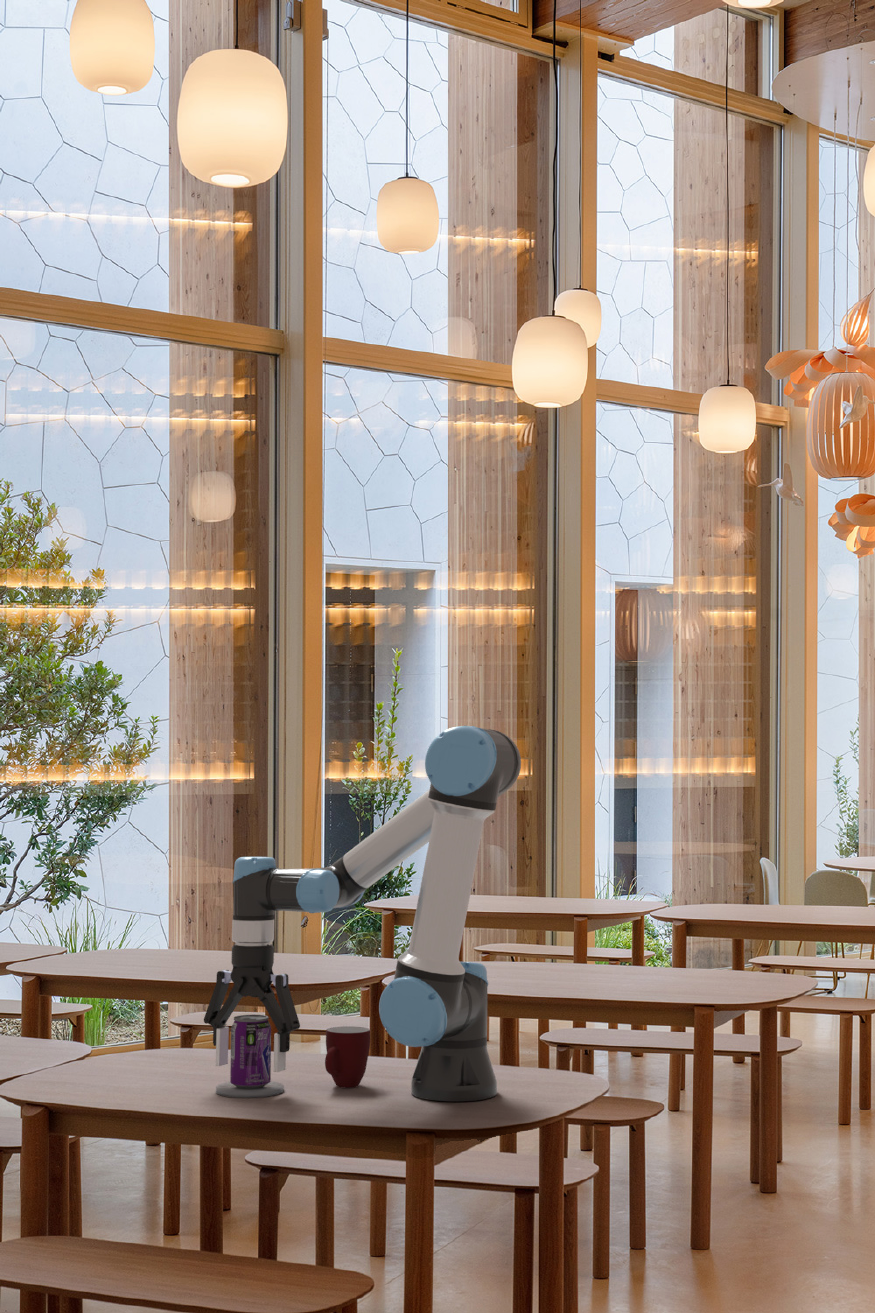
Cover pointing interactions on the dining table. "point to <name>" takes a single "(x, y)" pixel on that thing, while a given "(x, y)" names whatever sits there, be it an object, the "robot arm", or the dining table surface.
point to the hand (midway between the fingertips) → (250, 1068)
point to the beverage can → (250, 1051)
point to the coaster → (249, 1090)
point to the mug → (347, 1054)
